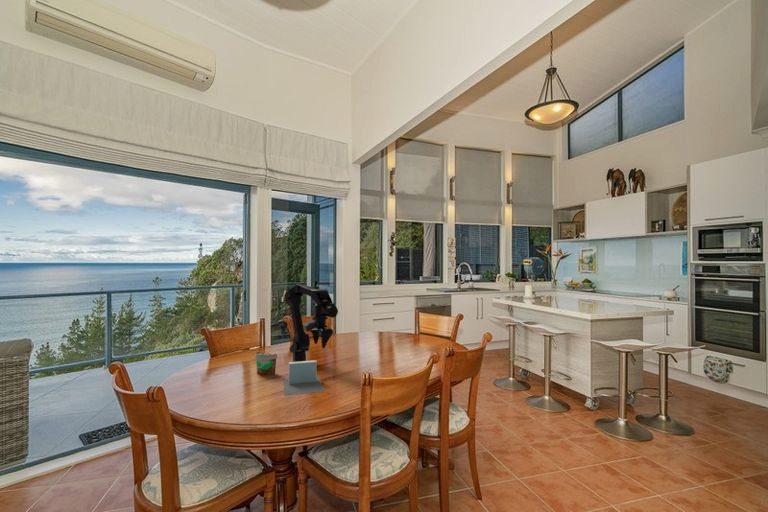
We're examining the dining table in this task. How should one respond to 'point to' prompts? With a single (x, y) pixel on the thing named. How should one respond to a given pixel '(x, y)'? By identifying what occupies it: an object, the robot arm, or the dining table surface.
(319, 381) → the mat
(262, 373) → the food container
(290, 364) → the tile
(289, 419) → the dining table surface
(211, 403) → the dining table surface
